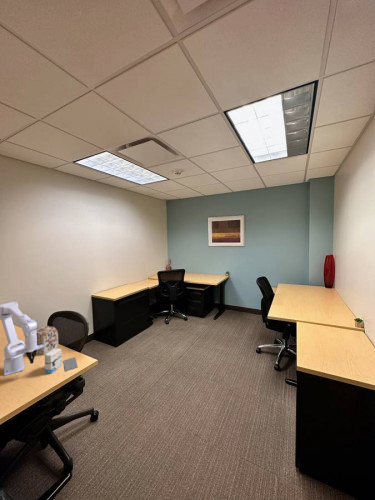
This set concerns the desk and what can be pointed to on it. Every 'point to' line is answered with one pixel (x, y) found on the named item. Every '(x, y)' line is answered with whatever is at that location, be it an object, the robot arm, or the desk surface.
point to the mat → (70, 364)
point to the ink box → (53, 360)
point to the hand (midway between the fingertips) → (32, 362)
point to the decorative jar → (47, 339)
